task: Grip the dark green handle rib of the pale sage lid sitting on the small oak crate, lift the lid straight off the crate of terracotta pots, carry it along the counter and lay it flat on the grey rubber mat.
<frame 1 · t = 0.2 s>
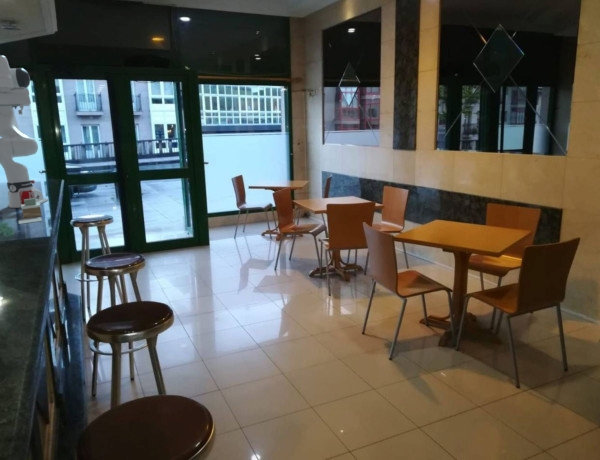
hand: (9, 114, 232), 51 cm above the countertop, tool tilted 20°, fingers open, 8 cm apart
crate: (32, 216, 245), on the countertop
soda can: (30, 211, 258), on the countertop
lid: (30, 206, 244), point 5 cm above the countertop, touching crate
mat: (30, 220, 234), on the countertop
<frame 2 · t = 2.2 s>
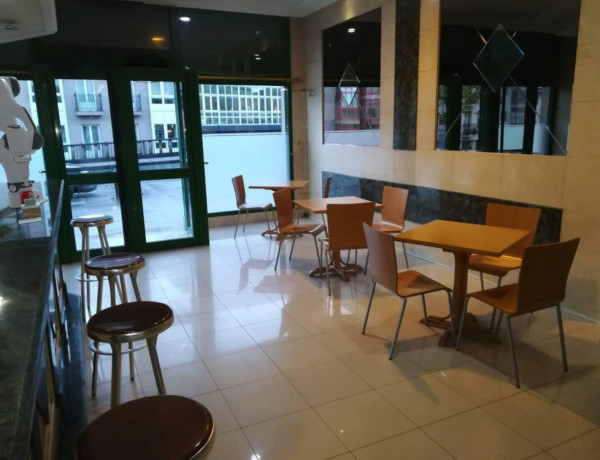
hand: (26, 185, 240), 16 cm above the countertop, tool pointing down, fingers open, 8 cm apart
nothing on the countertop moved.
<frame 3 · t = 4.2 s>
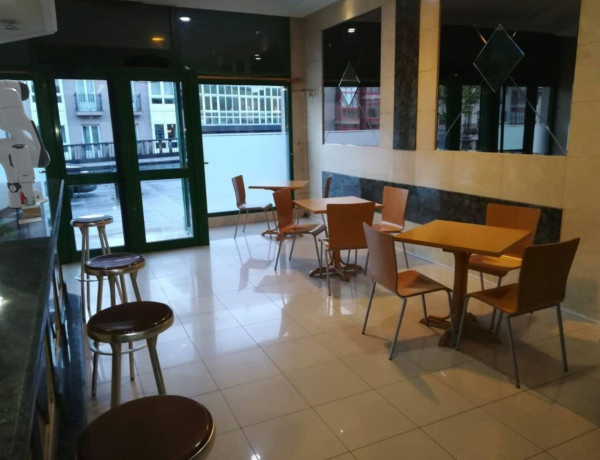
hand: (30, 203, 243), 7 cm above the countertop, tool pointing down, fingers closed on lid, 2 cm apart
lid: (30, 206, 244), point 5 cm above the countertop, touching crate, gripper
everything else where it was.
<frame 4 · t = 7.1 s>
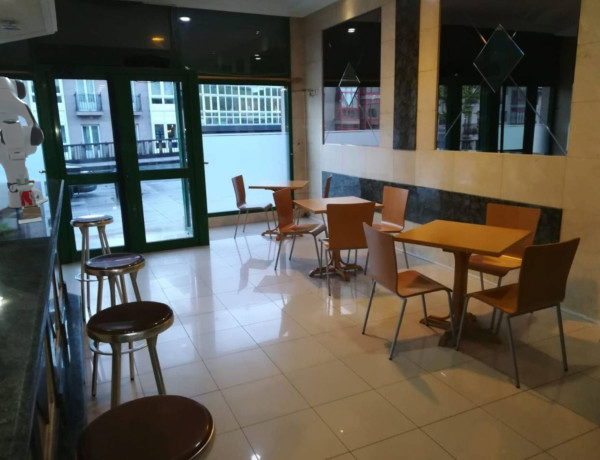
hand: (22, 183, 229), 19 cm above the countertop, tool pointing down, fingers closed on lid, 2 cm apart
lid: (23, 186, 230), point 17 cm above the countertop, touching gripper
everything else where it was.
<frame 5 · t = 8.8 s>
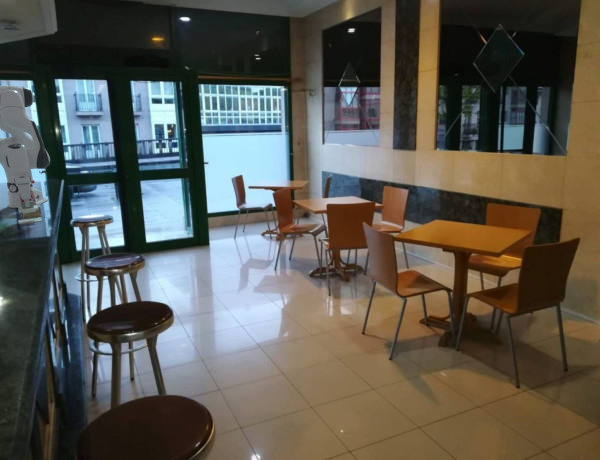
hand: (27, 206, 232), 7 cm above the countertop, tool pointing down, fingers closed on lid, 2 cm apart
lid: (28, 209, 233), point 6 cm above the countertop, touching gripper
everything else where it was.
when the fingers open (5 cm above the countertop, at t = 10.1 s): lid drops 1 cm, resting on mat.
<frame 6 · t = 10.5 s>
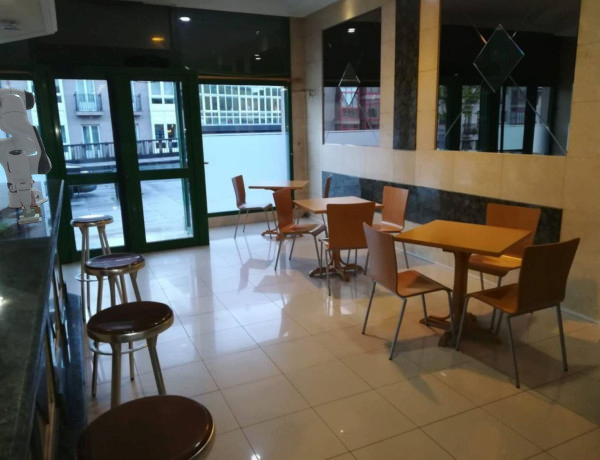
hand: (28, 211, 233), 5 cm above the countertop, tool pointing down, fingers open, 6 cm apart
lid: (29, 218, 234), point 1 cm above the countertop, touching mat
everything else where it was.
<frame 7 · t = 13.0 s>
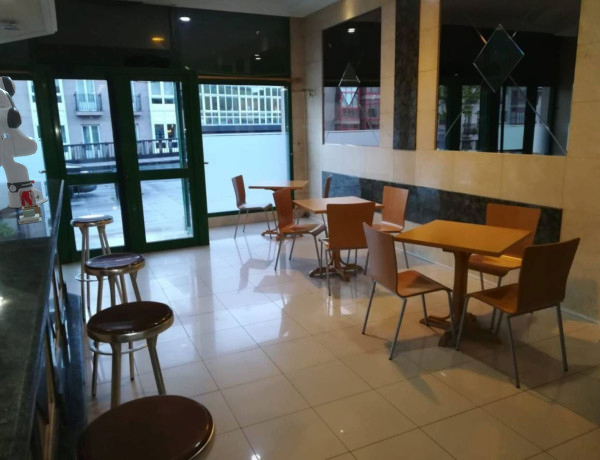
nothing on the countertop moved.
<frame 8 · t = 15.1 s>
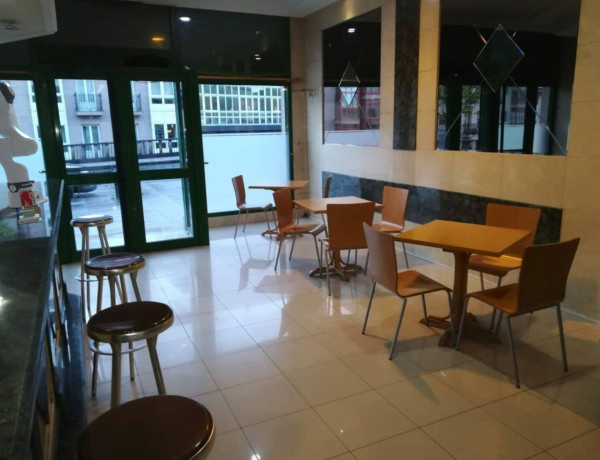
nothing on the countertop moved.
at the end: lid 0.1 cm from the mat (horizontally); lid point 1.3 cm above the countertop; lid tilted 0° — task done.
